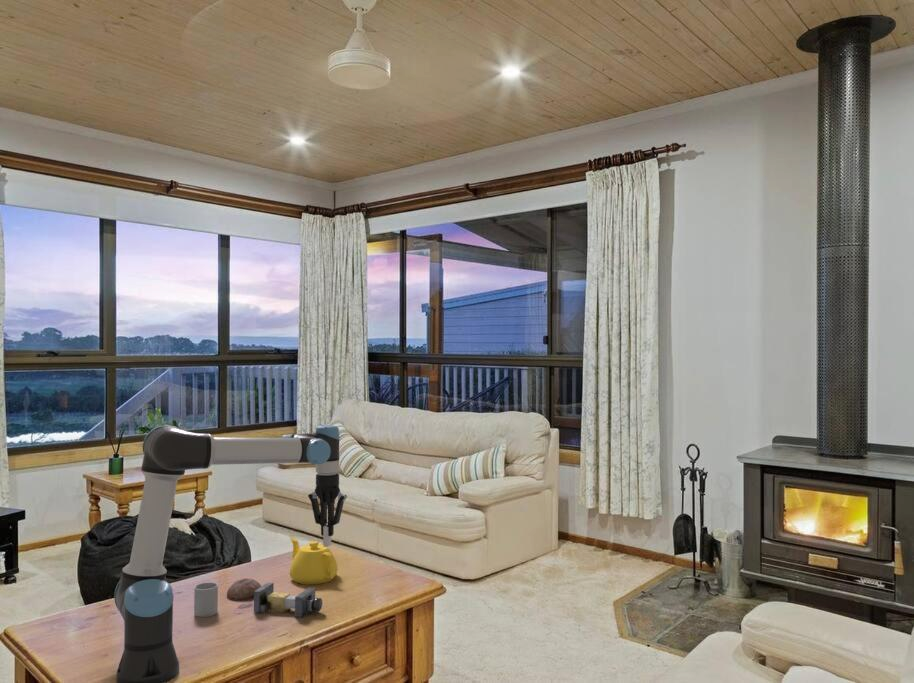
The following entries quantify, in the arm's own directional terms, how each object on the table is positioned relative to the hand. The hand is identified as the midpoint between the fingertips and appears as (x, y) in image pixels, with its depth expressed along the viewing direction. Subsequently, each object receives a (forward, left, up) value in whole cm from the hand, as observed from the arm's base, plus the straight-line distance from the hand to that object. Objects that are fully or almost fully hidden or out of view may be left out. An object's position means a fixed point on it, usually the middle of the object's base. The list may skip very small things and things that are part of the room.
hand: (327, 545), depth 224 cm
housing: (0, +15, -22) cm, 27 cm away
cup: (-8, +40, -23) cm, 47 cm away
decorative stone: (+10, +36, -23) cm, 44 cm away
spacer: (0, +18, -23) cm, 29 cm away
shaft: (0, +9, -21) cm, 23 cm away
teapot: (+33, +22, -23) cm, 46 cm away
